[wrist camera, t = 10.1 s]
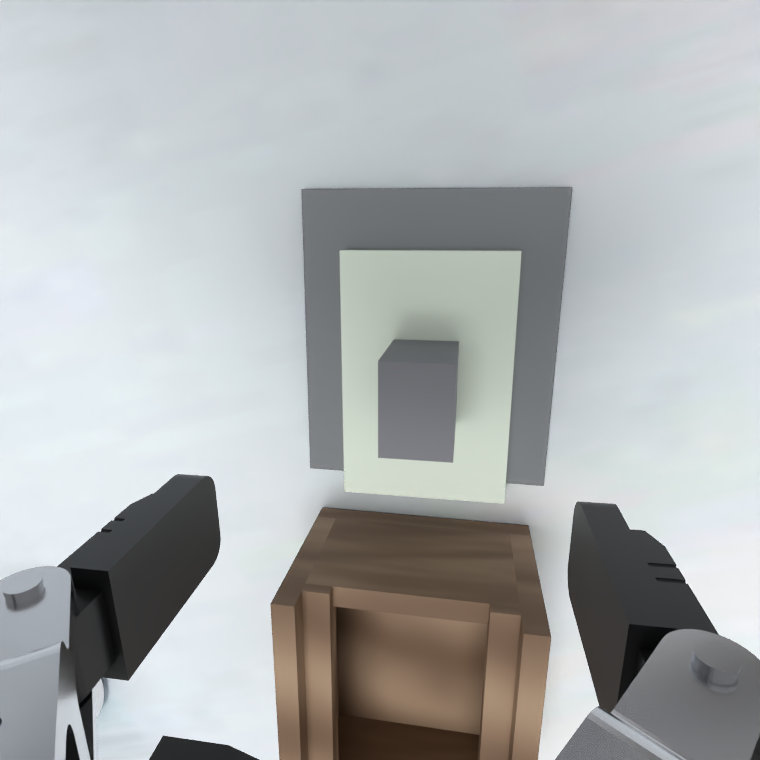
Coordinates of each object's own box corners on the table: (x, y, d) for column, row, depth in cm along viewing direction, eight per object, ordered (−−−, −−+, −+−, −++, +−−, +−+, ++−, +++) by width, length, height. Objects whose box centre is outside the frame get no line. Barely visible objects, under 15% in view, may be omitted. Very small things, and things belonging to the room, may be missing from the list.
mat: (304, 189, 25) (301, 189, 24) (570, 188, 23) (572, 187, 23) (312, 464, 29) (310, 468, 28) (542, 482, 27) (543, 485, 26)
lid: (344, 249, 25) (311, 253, 20) (519, 250, 24) (533, 254, 18) (348, 482, 28) (321, 539, 23) (503, 494, 27) (511, 557, 22)
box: (322, 507, 29) (270, 604, 22) (528, 525, 27) (551, 636, 20) (327, 710, 33) (284, 854, 25) (509, 737, 31) (522, 899, 24)
